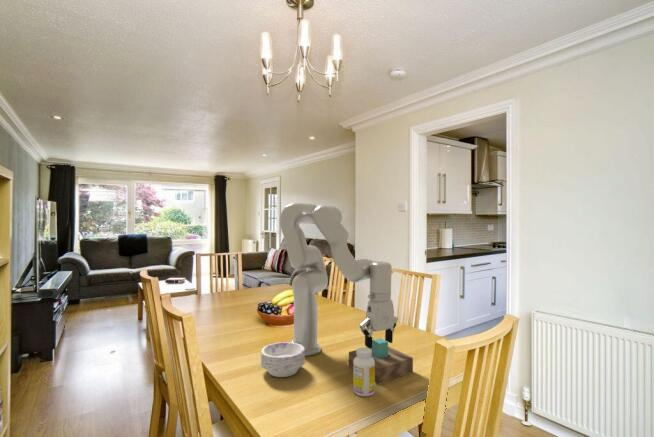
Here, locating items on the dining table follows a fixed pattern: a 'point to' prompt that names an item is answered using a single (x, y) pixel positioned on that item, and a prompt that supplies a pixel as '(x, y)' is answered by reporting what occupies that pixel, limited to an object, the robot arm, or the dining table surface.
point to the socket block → (388, 365)
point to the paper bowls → (282, 358)
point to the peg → (380, 348)
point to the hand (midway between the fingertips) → (378, 344)
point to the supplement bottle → (364, 372)
